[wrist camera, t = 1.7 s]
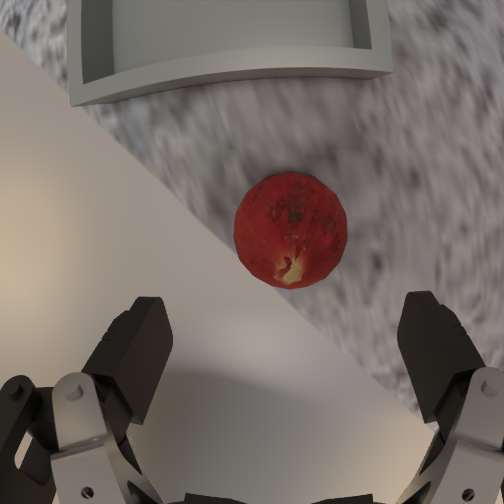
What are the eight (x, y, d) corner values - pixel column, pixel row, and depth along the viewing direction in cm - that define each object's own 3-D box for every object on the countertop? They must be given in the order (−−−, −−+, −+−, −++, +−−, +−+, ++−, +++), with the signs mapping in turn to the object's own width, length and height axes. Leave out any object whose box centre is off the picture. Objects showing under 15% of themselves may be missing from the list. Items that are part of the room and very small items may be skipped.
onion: (251, 153, 17) (227, 186, 10) (345, 172, 17) (385, 220, 10) (237, 239, 20) (211, 316, 13) (322, 256, 20) (338, 339, 13)
